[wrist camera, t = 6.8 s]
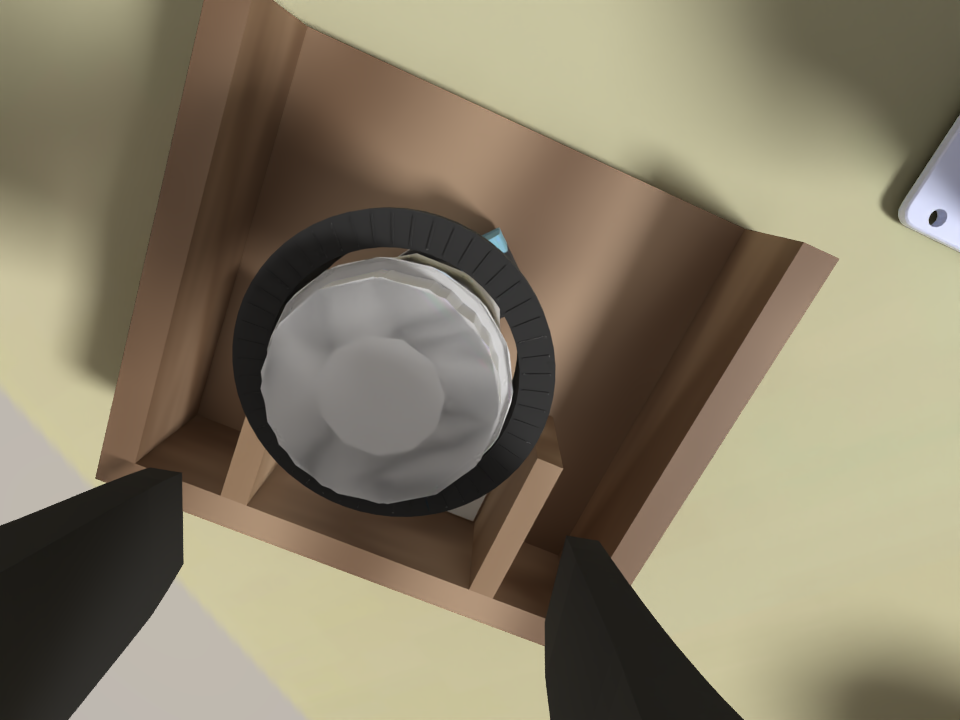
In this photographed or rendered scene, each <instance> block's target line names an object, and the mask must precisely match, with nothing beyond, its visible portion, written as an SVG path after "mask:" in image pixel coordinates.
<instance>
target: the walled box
mask: <svg viewBox="0 0 960 720" xmlns="http://www.w3.org/2000/svg"><path fill="white" fill-rule="evenodd" d="M383 207H395V208H409V209H415V210H421V211H426V212H430V213H433V214H437V215H440V216H443V217H446V218H448V219H451V220H453V221H456V222H458V223H461V224H462V225H464V226H466V227H468V228H470V229H472V230H474V231H476V232H477V233H478V234H480V235H481V236H482V235H484V234H486V233H488V232H490V231H492V230H494V229H496V228H500V230H501V232H502V234H503V236H504V238H505V240H506V243H507V245H508V247H509V249H510V251H511V253H512V255H513V257H514V260H515V262H516V264H517V266H518V268H519V270H520V272H521V273H522V274H523V275H524V277H525V278H526V279H527V281H528V283H529V284H530V286H531V287H532V289H533V291H534V292H535V294H536V296H537V298H538V300H539V302H540V305H541V307H542V309H543V311H544V314H545V317H546V320H547V323H548V326H549V329H550V332H551V337H552V342H553V346H554V354H555V364H556V370H555V388H554V396H553V401H552V405H551V409H550V413H549V416H548V419H547V422H546V424H545V427H544V429H543V431H542V433H541V435H540V437H539V439H538V441H537V443H536V445H535V446H534V448H533V449H532V451H531V452H530V454H529V456H528V457H527V458H526V459H525V460H524V462H523V463H522V464H521V465H520V467H519V468H518V469H517V470H516V471H515V472H514V473H513V474H512V475H511V476H510V477H509V478H508V479H506V480H505V481H504V482H503V483H501V484H500V485H499V486H498V487H496V488H495V489H493V490H492V491H490V492H489V493H487V494H486V495H484V496H482V497H481V498H479V499H477V500H475V501H473V502H471V503H469V504H466V505H463V506H461V507H458V508H456V509H452V510H449V511H445V512H441V513H437V514H431V515H425V516H415V517H390V516H381V515H374V514H369V513H365V512H360V511H357V510H353V509H350V508H347V507H344V506H342V505H339V504H337V503H334V502H332V501H330V500H328V499H326V498H324V497H322V496H320V495H318V494H316V493H315V492H313V491H311V490H310V489H308V488H307V487H305V486H304V485H302V484H301V483H300V482H298V481H297V480H296V479H294V478H293V477H292V476H291V475H289V474H288V473H287V472H286V471H285V470H284V469H283V468H282V467H281V466H280V465H279V464H278V463H277V462H276V461H275V460H274V459H273V458H272V456H271V455H270V454H269V453H268V452H267V450H266V449H265V448H264V446H263V445H262V444H261V442H260V441H259V439H258V438H257V436H256V434H255V433H254V431H253V429H252V428H251V426H250V424H249V422H248V420H247V417H246V415H245V413H244V411H243V408H242V405H241V402H240V399H239V396H238V393H237V389H236V384H235V380H234V372H233V363H232V344H233V335H234V328H235V323H236V319H237V315H238V311H239V309H240V306H241V303H242V300H243V297H244V295H245V293H246V291H247V289H248V287H249V285H250V283H251V282H252V280H253V278H254V277H255V275H256V274H257V272H258V271H259V269H260V268H261V267H262V266H263V264H264V263H265V262H266V261H267V260H268V258H269V257H270V256H271V255H272V254H273V253H274V252H275V251H276V250H277V249H278V248H279V247H280V246H282V245H283V244H284V243H285V242H286V241H288V240H289V239H290V238H292V237H293V236H295V235H296V234H297V233H299V232H300V231H302V230H304V229H306V228H308V227H309V226H311V225H313V224H315V223H317V222H320V221H322V220H325V219H327V218H329V217H332V216H336V215H339V214H343V213H346V212H351V211H357V210H363V209H369V208H383ZM407 250H409V249H403V248H389V247H379V248H370V249H363V250H358V251H354V252H350V253H348V254H346V255H345V256H343V257H342V258H340V259H339V260H338V261H336V262H335V263H334V264H333V265H332V266H331V267H330V268H332V267H335V266H337V265H341V264H346V263H351V262H356V261H361V260H365V259H370V258H375V257H392V258H394V257H398V256H399V255H401V254H402V253H404V252H405V251H407ZM838 260H839V258H836V257H834V256H832V255H830V254H828V253H826V252H824V251H821V250H819V249H817V248H815V247H813V246H811V245H808V244H806V243H804V242H800V241H796V240H791V239H787V238H783V237H778V236H774V235H769V234H765V233H761V232H756V231H752V230H748V229H744V228H742V227H740V226H738V225H736V224H733V223H731V222H729V221H727V220H725V219H723V218H720V217H718V216H716V215H714V214H712V213H710V212H708V211H705V210H703V209H701V208H699V207H697V206H695V205H692V204H690V203H688V202H686V201H684V200H682V199H679V198H677V197H675V196H673V195H671V194H669V193H666V192H664V191H662V190H660V189H658V188H656V187H653V186H651V185H649V184H647V183H645V182H643V181H641V180H638V179H636V178H634V177H632V176H630V175H628V174H625V173H623V172H621V171H619V170H617V169H615V168H612V167H610V166H608V165H606V164H604V163H602V162H599V161H597V160H595V159H593V158H591V157H589V156H587V155H584V154H582V153H580V152H578V151H576V150H574V149H571V148H569V147H567V146H565V145H563V144H561V143H558V142H556V141H554V140H552V139H550V138H548V137H545V136H543V135H541V134H539V133H537V132H535V131H532V130H530V129H528V128H526V127H524V126H522V125H520V124H517V123H515V122H513V121H511V120H509V119H507V118H504V117H502V116H500V115H498V114H496V113H494V112H491V111H489V110H487V109H485V108H483V107H481V106H478V105H476V104H474V103H472V102H470V101H468V100H466V99H463V98H461V97H459V96H457V95H455V94H453V93H450V92H448V91H446V90H444V89H442V88H440V87H437V86H435V85H433V84H431V83H429V82H427V81H424V80H422V79H420V78H418V77H416V76H414V75H411V74H409V73H407V72H405V71H403V70H401V69H399V68H396V67H394V66H392V65H390V64H388V63H386V62H383V61H381V60H379V59H377V58H375V57H373V56H370V55H368V54H366V53H364V52H362V51H360V50H357V49H355V48H353V47H351V46H349V45H347V44H344V43H342V42H340V41H338V40H336V39H334V38H332V37H329V36H327V35H325V34H323V33H321V32H319V31H316V30H314V29H312V28H310V27H308V26H306V25H305V24H304V23H302V22H301V21H300V20H298V19H297V18H296V17H294V16H293V15H292V14H290V13H289V12H288V11H286V10H285V9H284V8H282V7H281V6H280V5H278V4H277V3H276V2H274V1H273V0H204V2H203V6H202V11H201V15H200V20H199V24H198V28H197V33H196V37H195V42H194V46H193V50H192V55H191V59H190V64H189V68H188V72H187V77H186V81H185V86H184V90H183V94H182V99H181V103H180V108H179V112H178V116H177V121H176V125H175V130H174V134H173V139H172V143H171V147H170V152H169V156H168V161H167V165H166V169H165V174H164V178H163V183H162V187H161V191H160V196H159V200H158V205H157V209H156V213H155V218H154V222H153V227H152V231H151V235H150V240H149V244H148V249H147V253H146V257H145V262H144V266H143V271H142V275H141V279H140V284H139V288H138V293H137V297H136V301H135V306H134V310H133V315H132V319H131V323H130V328H129V332H128V337H127V341H126V345H125V350H124V354H123V359H122V363H121V367H120V372H119V376H118V381H117V385H116V389H115V394H114V398H113V403H112V407H111V411H110V416H109V420H108V425H107V429H106V433H105V438H104V442H103V447H102V451H101V455H100V460H99V464H98V469H97V473H96V477H95V479H98V480H101V481H103V482H106V483H108V482H110V481H113V480H116V479H118V478H121V477H123V476H126V475H128V474H131V473H134V472H137V471H140V470H143V469H146V468H149V467H151V468H157V469H163V470H169V471H175V472H181V473H182V495H183V511H184V512H186V513H189V514H192V515H194V516H197V517H200V518H202V519H205V520H208V521H211V522H213V523H216V524H219V525H221V526H224V527H227V528H229V529H232V530H235V531H237V532H240V533H243V534H245V535H248V536H251V537H253V538H256V539H259V540H261V541H264V542H267V543H269V544H272V545H275V546H278V547H280V548H283V549H286V550H288V551H291V552H294V553H296V554H299V555H302V556H304V557H307V558H310V559H312V560H315V561H318V562H320V563H323V564H326V565H328V566H331V567H334V568H336V569H339V570H342V571H345V572H347V573H350V574H353V575H355V576H358V577H361V578H363V579H366V580H369V581H371V582H374V583H377V584H379V585H382V586H385V587H387V588H390V589H393V590H395V591H398V592H401V593H403V594H406V595H409V596H412V597H414V598H417V599H420V600H422V601H425V602H428V603H430V604H433V605H436V606H438V607H441V608H444V609H446V610H449V611H452V612H454V613H457V614H460V615H462V616H465V617H468V618H471V619H473V620H476V621H479V622H481V623H484V624H487V625H489V626H492V627H495V628H497V629H500V630H503V631H505V632H508V633H511V634H513V635H516V636H519V637H521V638H524V639H527V640H529V641H532V642H535V643H538V644H540V645H543V646H545V619H546V615H547V611H548V607H549V603H550V599H551V595H552V591H553V587H554V583H555V579H556V574H557V570H558V566H559V562H560V558H561V554H562V550H563V546H564V542H565V538H566V535H567V536H573V537H579V538H585V539H591V540H597V541H599V542H600V543H601V545H602V546H603V547H604V549H605V550H606V552H607V553H608V554H609V556H610V557H611V559H612V560H613V562H614V563H615V564H616V566H617V567H618V569H619V570H620V571H621V573H622V574H623V576H624V577H625V579H626V580H627V581H628V583H629V584H630V586H631V584H632V583H633V581H634V580H635V578H636V576H637V575H638V573H639V572H640V570H641V569H642V567H643V565H644V564H645V562H646V561H647V559H648V558H649V556H650V554H651V553H652V551H653V550H654V548H655V547H656V545H657V544H658V542H659V540H660V539H661V537H662V536H663V534H664V533H665V531H666V529H667V528H668V526H669V525H670V523H671V522H672V520H673V518H674V517H675V515H676V514H677V512H678V511H679V509H680V508H681V506H682V504H683V503H684V501H685V500H686V498H687V497H688V495H689V493H690V492H691V490H692V489H693V487H694V486H695V484H696V482H697V481H698V479H699V478H700V476H701V475H702V473H703V472H704V470H705V468H706V467H707V465H708V464H709V462H710V461H711V459H712V457H713V456H714V454H715V453H716V451H717V450H718V448H719V446H720V445H721V443H722V442H723V440H724V439H725V437H726V436H727V434H728V432H729V431H730V429H731V428H732V426H733V425H734V423H735V421H736V420H737V418H738V417H739V415H740V414H741V412H742V410H743V409H744V407H745V406H746V404H747V403H748V401H749V400H750V398H751V396H752V395H753V393H754V392H755V390H756V389H757V387H758V385H759V384H760V382H761V381H762V379H763V378H764V376H765V374H766V373H767V371H768V370H769V368H770V367H771V365H772V364H773V362H774V360H775V359H776V357H777V356H778V354H779V353H780V351H781V349H782V348H783V346H784V345H785V343H786V342H787V340H788V338H789V337H790V335H791V334H792V332H793V331H794V329H795V328H796V326H797V324H798V323H799V321H800V320H801V318H802V317H803V315H804V313H805V312H806V310H807V309H808V307H809V306H810V304H811V303H812V301H813V299H814V298H815V296H816V295H817V293H818V292H819V290H820V288H821V287H822V285H823V284H824V282H825V281H826V279H827V277H828V276H829V274H830V273H831V271H832V270H833V268H834V267H835V265H836V263H837V262H838ZM330 268H328V269H330ZM328 269H327V270H328ZM500 331H501V334H502V335H503V337H504V339H505V341H506V343H507V346H508V349H509V353H510V362H511V373H512V379H513V376H514V372H515V367H516V361H517V348H516V344H515V340H514V338H513V335H512V332H511V329H510V327H509V325H508V323H507V321H506V319H505V317H503V318H501V319H500Z"/></svg>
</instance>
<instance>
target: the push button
mask: <svg viewBox="0 0 960 720" xmlns="http://www.w3.org/2000/svg"><path fill="white" fill-rule="evenodd" d="M379 247H389V248H403V249H409V250H407V251H405V252H404V253H402V254H401V255H399V256H398V257H394V258H392V257H375V258H370V259H365V260H361V261H356V262H351V263H346V264H341V265H337V266H335V267H332V268H330V267H331V266H332V265H333V264H334V263H335V262H336V261H338V260H339V259H340V258H342V257H343V256H345V255H346V254H348V253H350V252H354V251H358V250H363V249H370V248H379ZM328 268H330V269H328ZM327 269H328V270H327ZM503 317H505V319H506V321H507V323H508V325H509V327H510V329H511V332H512V335H513V338H514V340H515V344H516V348H517V361H516V367H515V372H514V376H513V379H512V373H511V362H510V353H509V349H508V346H507V343H506V341H505V339H504V337H503V335H502V334H501V331H500V319H501V318H503ZM232 363H233V372H234V380H235V384H236V389H237V393H238V396H239V399H240V402H241V405H242V408H243V411H244V413H245V415H246V417H247V420H248V422H249V424H250V426H251V428H252V429H253V431H254V433H255V434H256V436H257V438H258V439H259V441H260V442H261V444H262V445H263V446H264V448H265V449H266V450H267V452H268V453H269V454H270V455H271V456H272V458H273V459H274V460H275V461H276V462H277V463H278V464H279V465H280V466H281V467H282V468H283V469H284V470H285V471H286V472H287V473H288V474H289V475H291V476H292V477H293V478H294V479H296V480H297V481H298V482H300V483H301V484H302V485H304V486H305V487H307V488H308V489H310V490H311V491H313V492H315V493H316V494H318V495H320V496H322V497H324V498H326V499H328V500H330V501H332V502H334V503H337V504H339V505H342V506H344V507H347V508H350V509H353V510H357V511H360V512H365V513H369V514H374V515H381V516H390V517H415V516H425V515H431V514H437V513H441V512H445V511H449V510H452V509H456V508H458V507H461V506H463V505H466V504H469V503H471V502H473V501H475V500H477V499H479V498H481V497H482V496H484V495H486V494H487V493H489V492H490V491H492V490H493V489H495V488H496V487H498V486H499V485H500V484H501V483H503V482H504V481H505V480H506V479H508V478H509V477H510V476H511V475H512V474H513V473H514V472H515V471H516V470H517V469H518V468H519V467H520V465H521V464H522V463H523V462H524V460H525V459H526V458H527V457H528V456H529V454H530V452H531V451H532V449H533V448H534V446H535V445H536V443H537V441H538V439H539V437H540V435H541V433H542V431H543V429H544V427H545V424H546V422H547V419H548V416H549V413H550V409H551V405H552V401H553V396H554V388H555V370H556V364H555V354H554V346H553V342H552V337H551V332H550V329H549V326H548V323H547V320H546V317H545V314H544V311H543V309H542V307H541V305H540V302H539V300H538V298H537V296H536V294H535V292H534V291H533V289H532V287H531V286H530V284H529V283H528V281H527V279H526V278H525V277H524V275H523V274H522V273H521V272H520V270H519V268H518V266H517V264H516V262H515V260H514V257H513V255H512V253H511V251H510V249H509V247H508V245H507V243H506V240H505V238H504V236H503V234H502V232H501V230H500V228H496V229H494V230H492V231H490V232H488V233H486V234H484V235H482V236H481V235H480V234H478V233H477V232H476V231H474V230H472V229H470V228H468V227H466V226H464V225H462V224H461V223H458V222H456V221H453V220H451V219H448V218H446V217H443V216H440V215H437V214H433V213H430V212H426V211H421V210H415V209H409V208H395V207H383V208H369V209H363V210H357V211H351V212H346V213H343V214H339V215H336V216H332V217H329V218H327V219H325V220H322V221H320V222H317V223H315V224H313V225H311V226H309V227H308V228H306V229H304V230H302V231H300V232H299V233H297V234H296V235H295V236H293V237H292V238H290V239H289V240H288V241H286V242H285V243H284V244H283V245H282V246H280V247H279V248H278V249H277V250H276V251H275V252H274V253H273V254H272V255H271V256H270V257H269V258H268V260H267V261H266V262H265V263H264V264H263V266H262V267H261V268H260V269H259V271H258V272H257V274H256V275H255V277H254V278H253V280H252V282H251V283H250V285H249V287H248V289H247V291H246V293H245V295H244V297H243V300H242V303H241V306H240V309H239V311H238V315H237V319H236V323H235V328H234V335H233V344H232Z"/></svg>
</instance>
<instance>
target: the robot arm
mask: <svg viewBox="0 0 960 720" xmlns="http://www.w3.org/2000/svg"><path fill="white" fill-rule="evenodd" d="M935 210H936V211H937V219H936V221H935V222H934V223H933V224H932V225H930V224H929V220H928V219H929V216H930V214H931V213H932V212H933V211H935ZM898 218H899V220H900V222H901V223H902V224H903V225H904V226H906V227H908V228H910V229H912V230H914V231H916V232H918V233H921V234H923V235H925V236H927V237H929V238H931V239H933V240H935V241H937V242H939V243H941V244H944V245H946V246H948V247H950V248H952V249H954V250H956V251H958V252H960V115H959V116H958V118H957V119H956V121H955V122H954V124H953V126H952V127H951V129H950V130H949V132H948V133H947V135H946V136H945V138H944V139H943V141H942V142H941V144H940V145H939V147H938V148H937V150H936V151H935V153H934V155H933V156H932V158H931V159H930V161H929V162H928V164H927V165H926V167H925V168H924V170H923V171H922V173H921V174H920V176H919V177H918V179H917V181H916V182H915V184H914V185H913V187H912V188H911V190H910V191H909V193H908V194H907V196H906V197H905V199H904V200H903V202H902V203H901V206H900V208H899V210H898ZM182 565H183V495H182V473H181V472H175V471H169V470H163V469H157V468H151V467H149V468H146V469H143V470H140V471H137V472H134V473H131V474H128V475H126V476H123V477H121V478H118V479H116V480H113V481H110V482H108V483H105V484H103V485H101V486H98V487H96V488H93V489H91V490H88V491H86V492H83V493H81V494H79V495H76V496H74V497H71V498H69V499H66V500H64V501H62V502H59V503H56V504H54V505H51V506H49V507H47V508H44V509H42V510H39V511H37V512H34V513H32V514H29V515H27V516H24V517H22V518H20V519H17V520H14V521H11V522H9V523H6V524H3V525H1V526H0V720H68V719H69V718H70V717H71V715H72V714H73V713H74V712H75V711H76V709H77V708H78V707H79V706H80V704H81V703H82V702H83V701H84V700H85V698H86V697H87V696H88V694H89V693H90V692H91V691H92V689H93V688H94V687H95V686H96V685H97V683H98V682H99V681H100V679H101V678H102V677H103V676H104V675H105V673H106V672H107V671H108V670H109V668H110V667H111V666H112V664H113V663H114V662H115V661H116V660H117V658H118V657H119V656H120V654H122V652H123V651H124V650H125V648H126V647H127V646H128V645H129V643H130V642H131V641H132V640H133V638H134V637H135V636H136V635H137V633H138V632H139V631H140V630H141V628H142V627H143V626H144V624H145V623H146V622H147V621H148V619H149V618H150V617H151V615H152V614H153V613H154V611H155V609H156V608H157V606H158V605H159V603H160V601H161V600H162V598H163V597H164V595H165V593H166V592H167V591H168V589H169V587H170V585H171V584H172V582H173V580H174V579H175V577H176V575H177V574H178V572H179V570H180V569H181V567H182ZM545 679H546V688H547V696H548V704H549V712H550V720H744V719H743V718H742V717H741V716H740V715H739V714H738V713H737V712H736V711H735V710H734V709H733V708H732V707H731V706H730V705H729V704H728V703H727V702H726V701H725V700H724V699H723V698H722V697H721V696H720V695H719V694H718V692H717V691H716V690H715V689H714V688H713V687H712V686H711V685H710V684H709V683H708V682H707V680H706V679H705V678H704V677H703V676H702V675H701V674H700V672H699V671H698V670H697V669H696V668H695V667H694V665H693V664H692V663H691V662H690V661H689V660H688V658H687V657H686V656H685V655H684V654H683V653H682V651H681V650H680V649H679V648H678V647H677V645H676V644H675V643H674V642H673V641H672V639H671V638H670V637H669V636H668V634H667V633H666V632H665V631H664V629H663V628H662V627H661V626H660V624H659V623H658V622H657V620H656V619H655V618H654V616H653V615H652V614H651V613H650V611H649V610H648V609H647V607H646V606H645V605H644V603H643V602H642V601H641V599H640V598H639V597H638V595H637V594H636V592H635V591H634V590H633V588H632V587H631V586H630V584H629V583H628V581H627V580H626V579H625V577H624V576H623V574H622V573H621V571H620V570H619V569H618V567H617V566H616V564H615V563H614V562H613V560H612V559H611V557H610V556H609V554H608V553H607V552H606V550H605V549H604V547H603V546H602V545H601V543H600V542H599V541H597V540H591V539H585V538H579V537H573V536H567V535H566V538H565V542H564V546H563V550H562V554H561V558H560V562H559V566H558V570H557V574H556V579H555V583H554V587H553V591H552V595H551V599H550V603H549V607H548V611H547V615H546V619H545Z"/></svg>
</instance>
